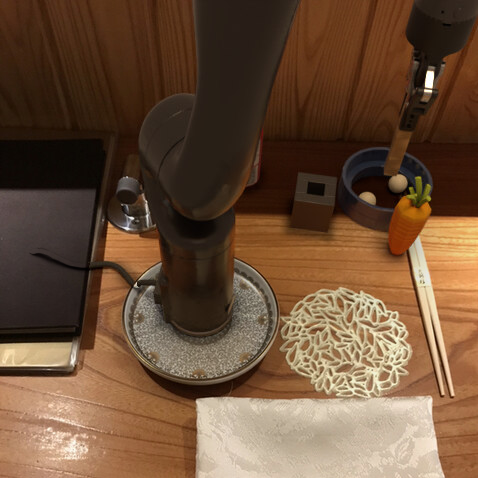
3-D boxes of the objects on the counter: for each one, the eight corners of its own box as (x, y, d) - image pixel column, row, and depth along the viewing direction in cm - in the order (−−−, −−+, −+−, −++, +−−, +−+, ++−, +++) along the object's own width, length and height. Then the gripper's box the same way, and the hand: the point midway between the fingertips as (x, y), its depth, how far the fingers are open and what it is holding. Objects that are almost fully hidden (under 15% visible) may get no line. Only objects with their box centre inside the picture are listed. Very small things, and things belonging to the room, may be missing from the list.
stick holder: (289, 231, 89) (294, 200, 83) (293, 204, 92) (298, 172, 87) (326, 236, 89) (334, 205, 83) (329, 209, 92) (337, 177, 86)
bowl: (333, 228, 90) (339, 204, 85) (339, 167, 97) (345, 141, 93) (422, 241, 89) (433, 217, 84) (421, 178, 97) (431, 153, 92)
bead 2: (386, 195, 93) (391, 182, 90) (386, 182, 95) (391, 169, 92) (404, 198, 93) (409, 184, 90) (404, 185, 94) (409, 171, 92)
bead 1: (354, 213, 91) (358, 200, 88) (355, 200, 92) (359, 186, 90) (373, 216, 91) (377, 202, 88) (373, 202, 92) (378, 189, 90)
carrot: (409, 270, 86) (442, 200, 73) (377, 264, 86) (404, 194, 74) (411, 245, 89) (443, 174, 76) (379, 240, 89) (406, 168, 76)
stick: (383, 174, 87) (409, 96, 75) (384, 165, 88) (409, 87, 76) (396, 176, 87) (424, 98, 75) (396, 167, 88) (424, 89, 76)
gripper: (414, -34, 69) (380, 90, 84) (415, 30, 62) (378, 153, 76) (476, -27, 68) (431, 96, 83) (484, 38, 61) (433, 160, 76)
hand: (406, 123), depth 80 cm, fingers closed on stick, 2 cm apart
